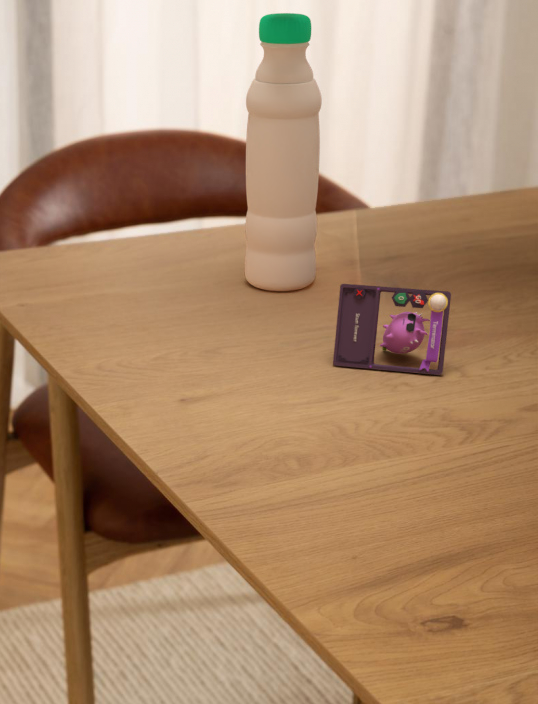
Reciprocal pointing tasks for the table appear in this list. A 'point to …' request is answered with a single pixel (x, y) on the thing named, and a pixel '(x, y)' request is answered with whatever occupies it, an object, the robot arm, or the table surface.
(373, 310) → the game card
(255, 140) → the water bottle
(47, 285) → the table surface
